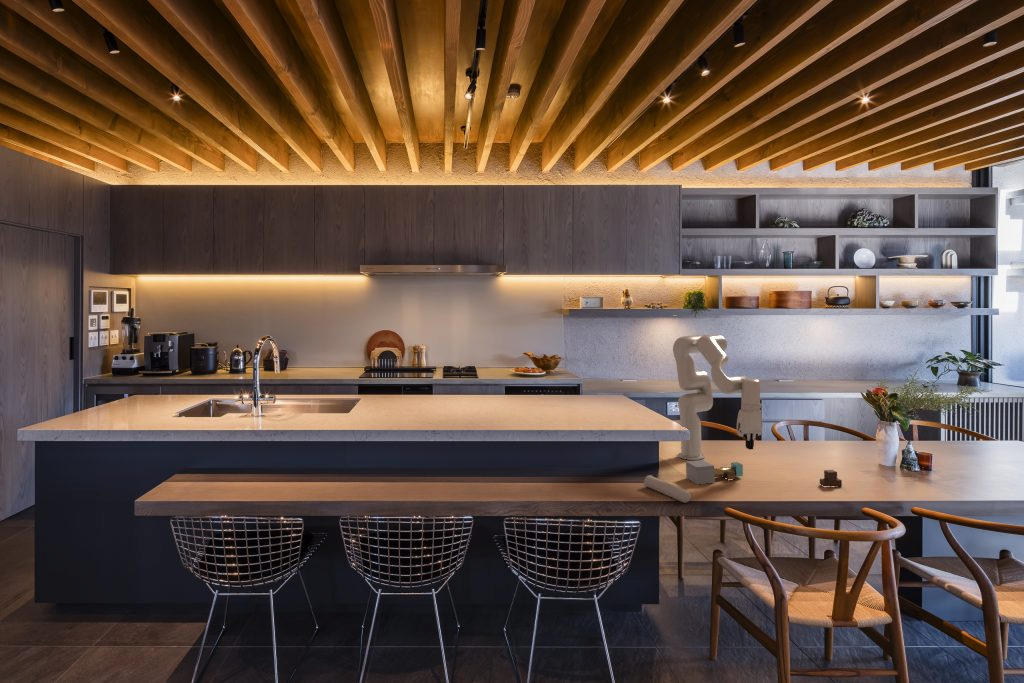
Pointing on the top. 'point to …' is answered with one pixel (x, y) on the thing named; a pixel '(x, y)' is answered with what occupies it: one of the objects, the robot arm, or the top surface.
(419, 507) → the top surface
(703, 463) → the socket block
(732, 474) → the guide block
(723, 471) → the bronze piece
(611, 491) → the top surface
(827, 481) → the wooden blocks
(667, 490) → the tube
